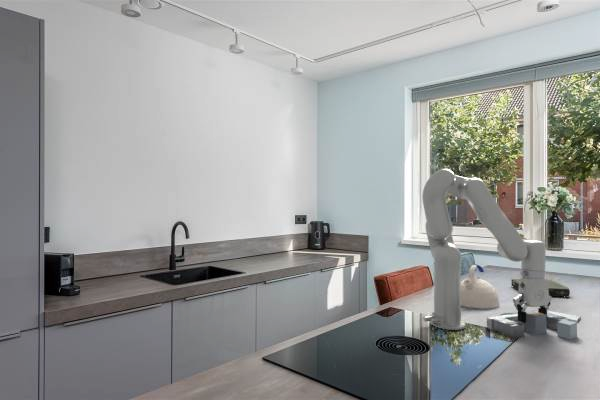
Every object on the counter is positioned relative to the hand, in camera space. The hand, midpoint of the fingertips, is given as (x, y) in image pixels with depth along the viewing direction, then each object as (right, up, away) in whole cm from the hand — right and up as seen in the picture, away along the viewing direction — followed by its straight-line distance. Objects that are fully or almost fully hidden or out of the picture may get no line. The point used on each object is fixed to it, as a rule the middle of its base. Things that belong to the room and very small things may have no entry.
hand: (532, 320), depth 142 cm
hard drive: (+21, -4, +16) cm, 27 cm away
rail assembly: (0, -4, +1) cm, 4 cm away
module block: (+1, -4, 0) cm, 4 cm away
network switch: (+40, -5, +61) cm, 73 cm away
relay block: (+9, -4, -6) cm, 11 cm away
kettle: (-3, -4, +40) cm, 40 cm away
